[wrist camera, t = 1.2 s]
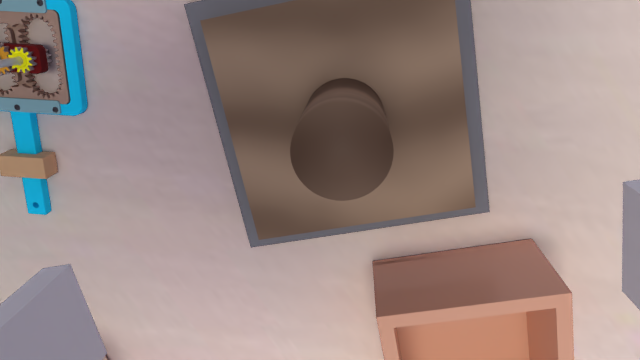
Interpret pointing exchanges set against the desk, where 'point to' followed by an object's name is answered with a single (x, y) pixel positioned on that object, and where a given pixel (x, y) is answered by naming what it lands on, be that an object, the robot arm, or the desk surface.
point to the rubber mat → (223, 3)
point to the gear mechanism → (26, 99)
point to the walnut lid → (344, 111)
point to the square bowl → (474, 305)
